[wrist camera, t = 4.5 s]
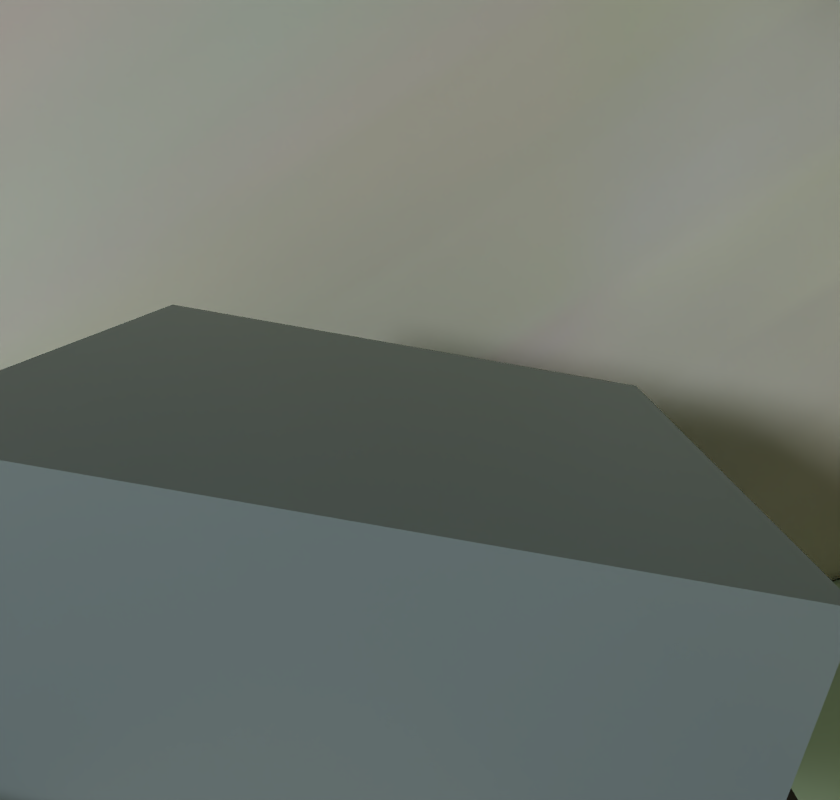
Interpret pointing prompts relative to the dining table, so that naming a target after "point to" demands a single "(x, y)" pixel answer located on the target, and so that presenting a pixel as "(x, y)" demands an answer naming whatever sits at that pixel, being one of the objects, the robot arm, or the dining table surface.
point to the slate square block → (382, 581)
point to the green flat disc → (822, 751)
